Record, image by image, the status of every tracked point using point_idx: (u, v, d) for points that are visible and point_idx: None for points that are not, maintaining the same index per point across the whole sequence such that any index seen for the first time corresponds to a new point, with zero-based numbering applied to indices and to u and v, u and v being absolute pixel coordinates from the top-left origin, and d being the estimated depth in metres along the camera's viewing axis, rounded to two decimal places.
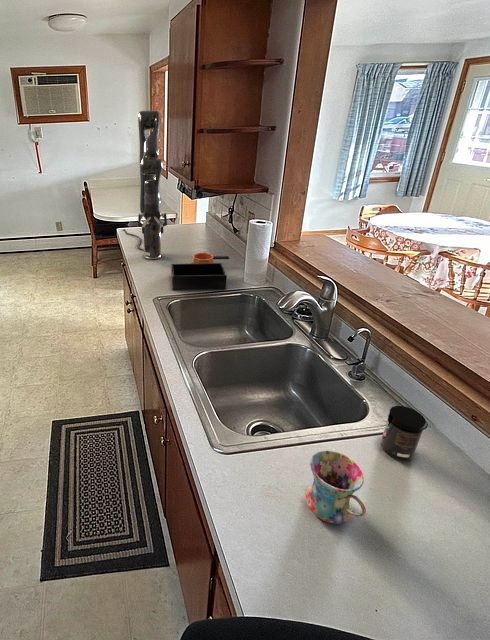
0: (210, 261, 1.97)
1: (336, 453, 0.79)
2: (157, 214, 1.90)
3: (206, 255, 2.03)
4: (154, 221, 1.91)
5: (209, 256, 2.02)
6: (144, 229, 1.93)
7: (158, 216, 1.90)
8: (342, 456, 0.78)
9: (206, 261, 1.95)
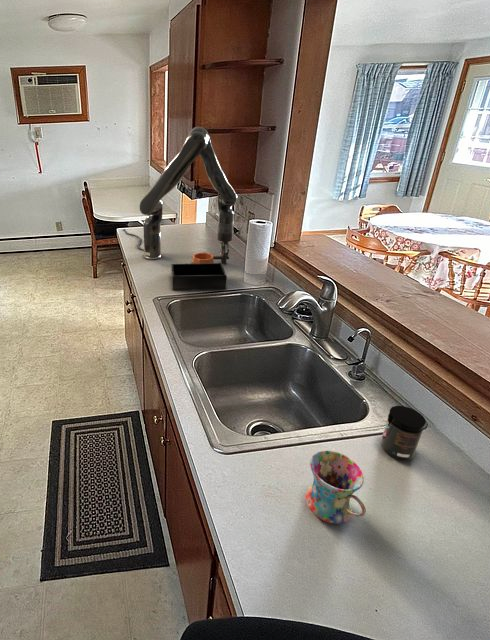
0: (210, 261, 1.97)
1: (336, 453, 0.79)
2: (223, 243, 1.93)
3: (206, 255, 2.03)
4: None
5: (209, 256, 2.02)
6: None
7: (223, 246, 1.93)
8: (342, 456, 0.78)
9: (206, 261, 1.95)
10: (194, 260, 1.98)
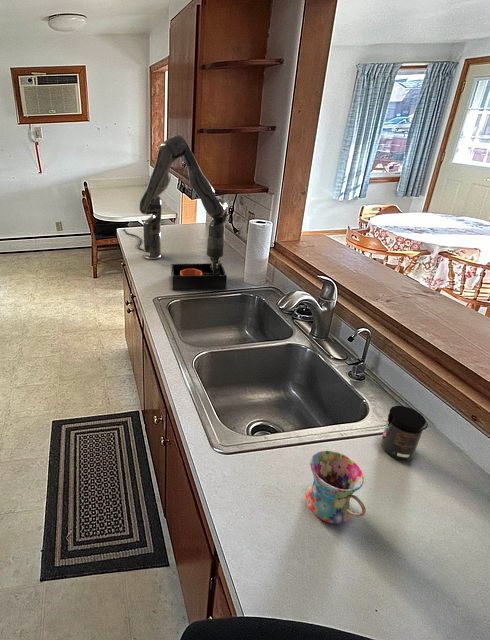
0: None
1: (336, 453, 0.79)
2: (213, 259, 1.73)
3: (195, 271, 1.83)
4: None
5: (198, 272, 1.81)
6: None
7: (213, 262, 1.73)
8: (342, 456, 0.78)
9: None
10: None
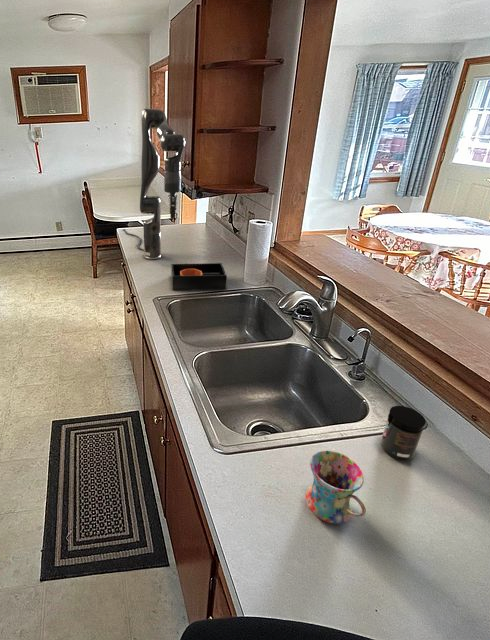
0: None
1: (336, 453, 0.79)
2: (170, 195, 1.77)
3: (195, 271, 1.83)
4: None
5: (198, 272, 1.81)
6: None
7: (170, 197, 1.77)
8: (342, 456, 0.78)
9: None
10: None
